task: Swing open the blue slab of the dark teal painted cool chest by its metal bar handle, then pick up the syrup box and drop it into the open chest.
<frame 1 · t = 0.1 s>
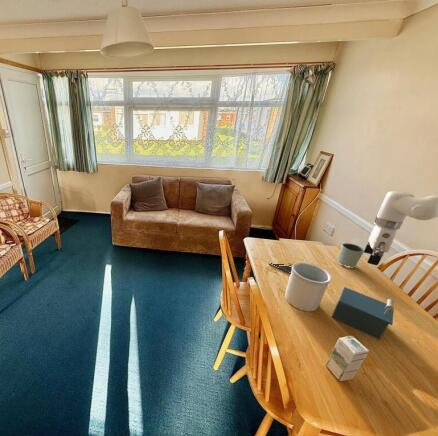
hand: (370, 258, 97), 26 cm above the table, tool pointing down, fingers open, 9 cm apart
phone: (283, 267, 135), on the table
syrup box: (338, 372, 80), on the table
chest: (356, 319, 100), on the table
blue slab: (368, 299, 95), point 12 cm above the table, hinge at 0.0°
grey-green pot: (345, 264, 138), on the table
utensil holder: (300, 301, 110), on the table
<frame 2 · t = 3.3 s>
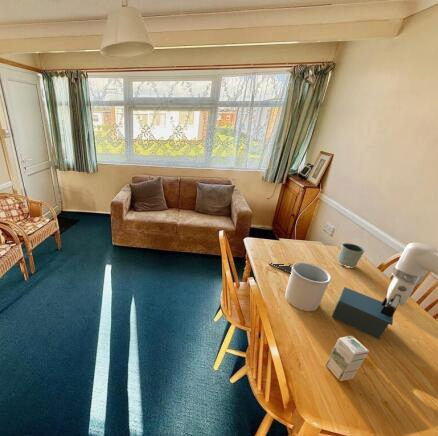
hand: (386, 310, 92), 10 cm above the table, tool pointing down, fingers closed on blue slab, 5 cm apart
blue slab: (368, 299, 95), point 12 cm above the table, hinge at 0.0°, touching gripper
everything else where it was.
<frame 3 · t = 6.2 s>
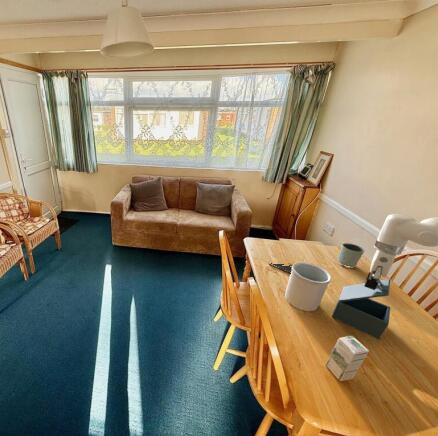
hand: (370, 284, 93), 19 cm above the table, tool pointing down, fingers closed on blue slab, 5 cm apart
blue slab: (360, 285, 96), point 17 cm above the table, hinge at 44.9°, touching gripper
everything else where it was.
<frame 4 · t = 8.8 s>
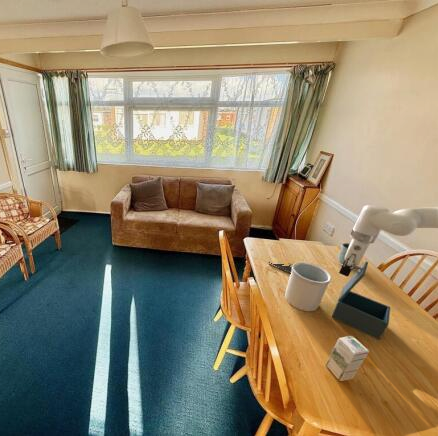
hand: (344, 271, 98), 21 cm above the table, tool pointing down, fingers closed on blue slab, 5 cm apart
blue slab: (346, 278, 99), point 18 cm above the table, hinge at 78.6°, touching gripper
everything else where it was.
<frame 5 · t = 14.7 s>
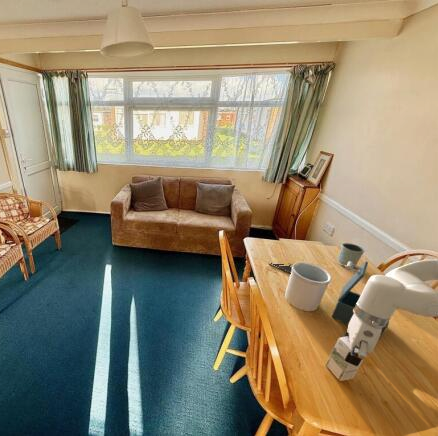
hand: (349, 352, 75), 10 cm above the table, tool pointing down, fingers closed on syrup box, 8 cm apart
syrup box: (338, 372, 80), on the table, touching gripper
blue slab: (346, 278, 99), point 18 cm above the table, hinge at 78.8°
everything else where it was.
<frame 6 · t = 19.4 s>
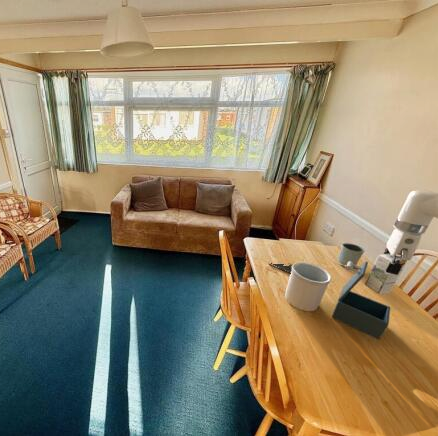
hand: (388, 267, 86), 30 cm above the table, tool pointing down, fingers closed on syrup box, 8 cm apart
syrup box: (376, 288, 91), point 19 cm above the table, touching gripper
everything else where it was.
when the fingers open (11 cm above the table, at t = 24.2 s): syrup box stays where it is, resting on chest.
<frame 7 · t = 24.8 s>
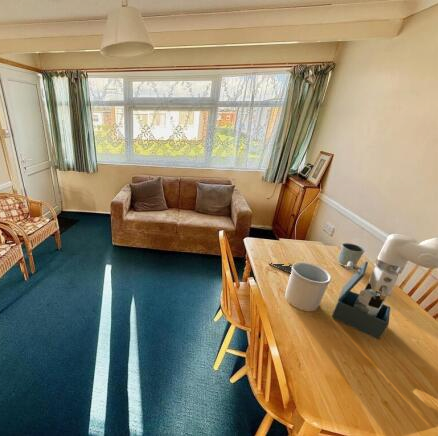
hand: (371, 299, 94), 13 cm above the table, tool pointing down, fingers open, 9 cm apart
syrup box: (359, 319, 99), point 1 cm above the table, touching chest
everything else where it was.
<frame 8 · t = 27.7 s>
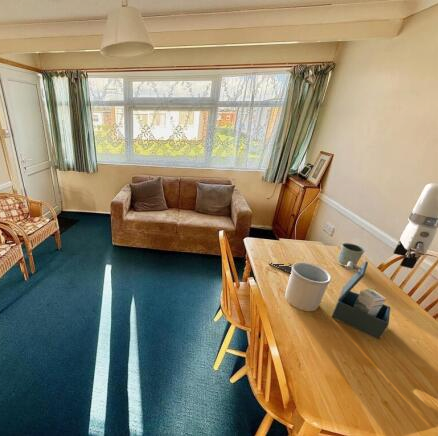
hand: (402, 260, 86), 32 cm above the table, tool pointing down, fingers open, 9 cm apart
nothing on the table moved.
at the end: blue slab at +79° (first picture: +0°); syrup box inside the target area in the chest (1.0 cm from its centre), point 0.6 cm above the chest's base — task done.
